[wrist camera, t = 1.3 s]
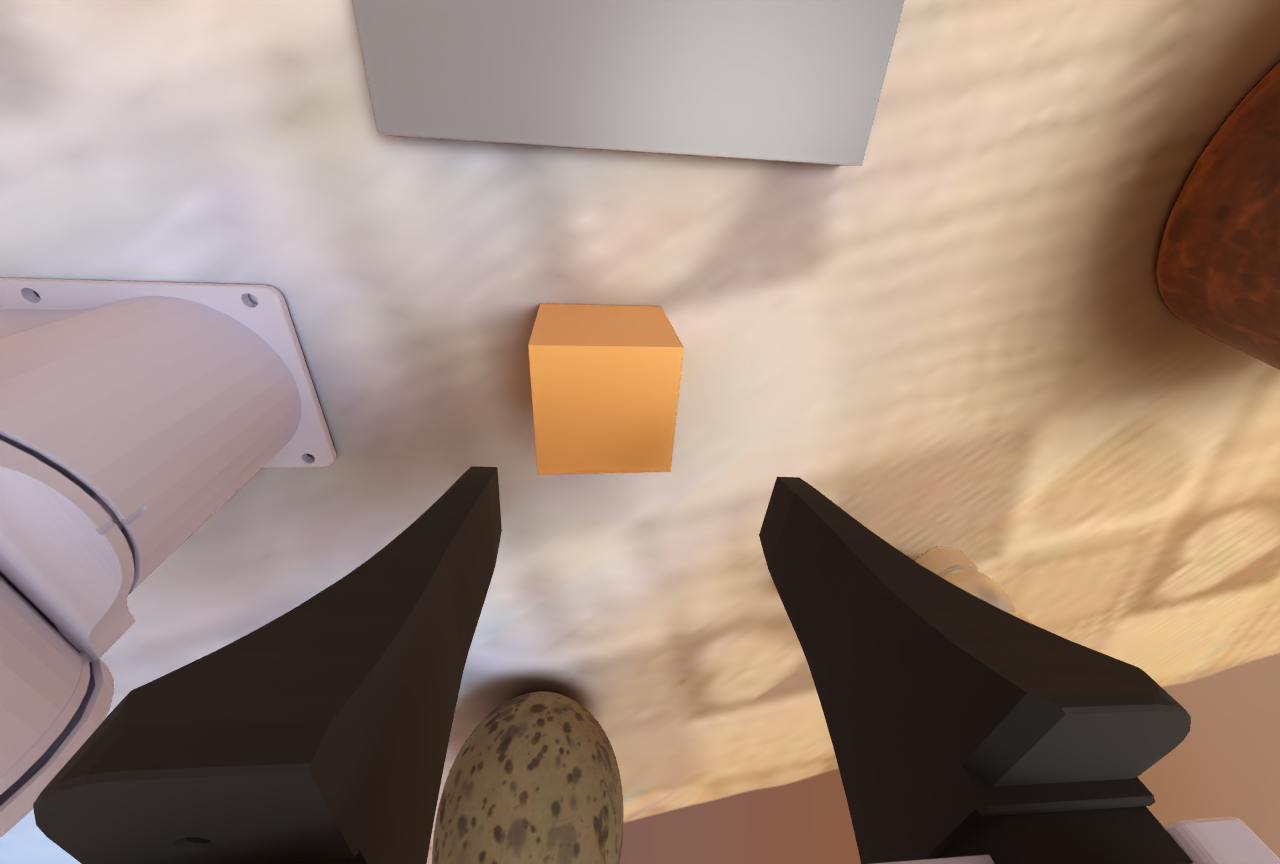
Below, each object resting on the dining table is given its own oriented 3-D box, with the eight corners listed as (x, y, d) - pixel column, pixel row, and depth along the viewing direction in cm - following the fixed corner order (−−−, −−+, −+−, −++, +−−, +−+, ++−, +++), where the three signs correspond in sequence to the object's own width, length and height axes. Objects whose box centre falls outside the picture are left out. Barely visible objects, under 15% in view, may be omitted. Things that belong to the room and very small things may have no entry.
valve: (989, 532, 29) (828, 502, 26) (1087, 621, 24) (896, 596, 21) (929, 601, 32) (779, 581, 29) (1003, 695, 27) (826, 681, 24)
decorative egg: (642, 704, 34) (679, 1026, 22) (526, 755, 36) (496, 1079, 24) (559, 633, 29) (542, 1001, 16) (428, 697, 31) (320, 1073, 18)
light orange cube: (546, 411, 21) (537, 474, 17) (540, 303, 19) (528, 345, 14) (652, 411, 22) (670, 471, 18) (661, 306, 19) (683, 347, 15)
